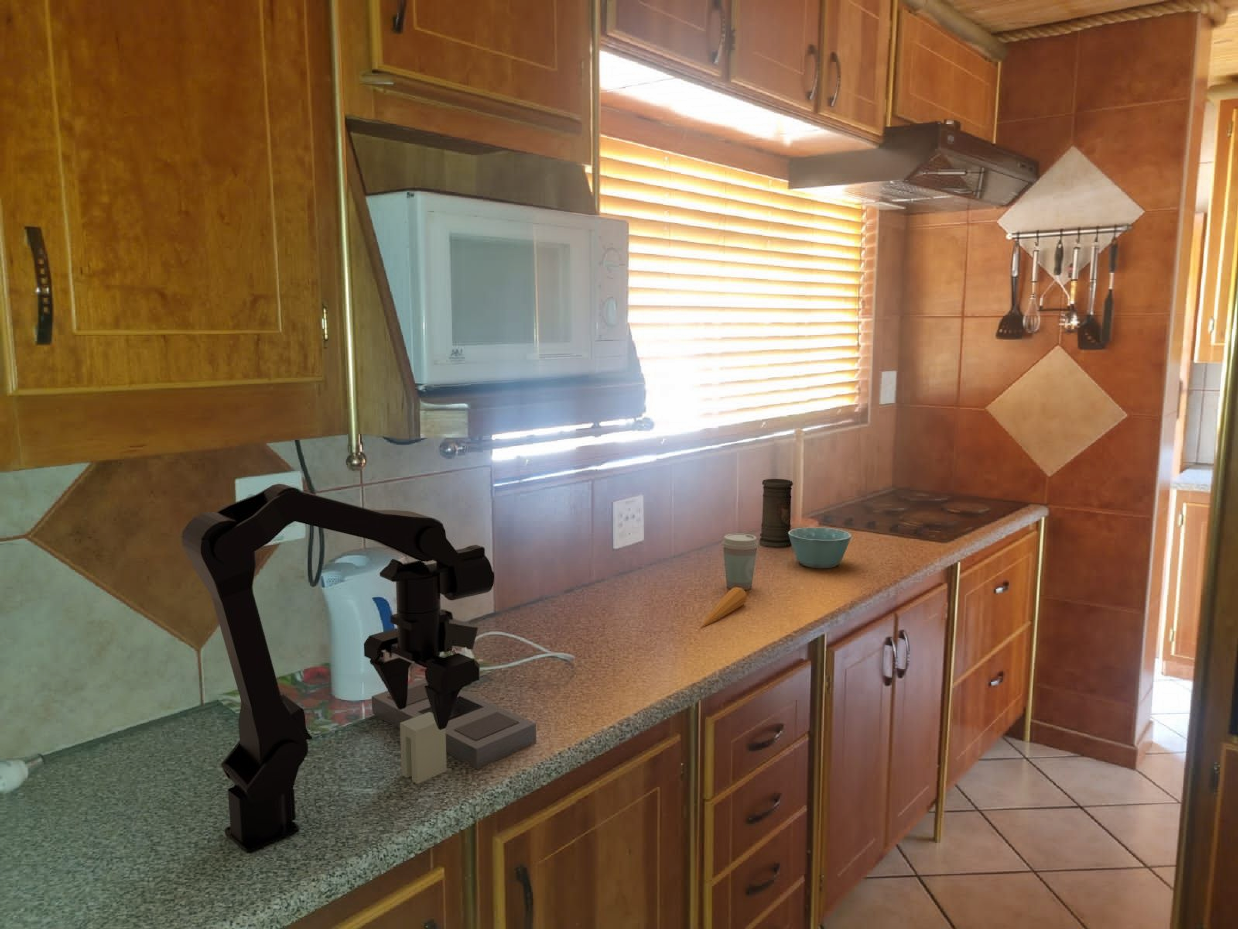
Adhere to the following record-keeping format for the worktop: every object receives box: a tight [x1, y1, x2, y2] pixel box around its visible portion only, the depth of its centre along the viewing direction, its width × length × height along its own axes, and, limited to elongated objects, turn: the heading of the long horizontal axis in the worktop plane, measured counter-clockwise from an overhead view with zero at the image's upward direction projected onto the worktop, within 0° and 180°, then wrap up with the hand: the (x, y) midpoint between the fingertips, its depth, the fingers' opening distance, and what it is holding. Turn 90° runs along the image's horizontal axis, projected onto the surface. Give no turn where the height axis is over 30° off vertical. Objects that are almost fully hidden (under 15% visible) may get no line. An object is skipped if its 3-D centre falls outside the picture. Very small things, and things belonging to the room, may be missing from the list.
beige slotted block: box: [399, 712, 448, 785], centre depth 123 cm, size 5×4×8 cm
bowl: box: [788, 526, 852, 569], centre depth 232 cm, size 16×16×8 cm
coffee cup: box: [721, 533, 759, 591], centre depth 211 cm, size 8×8×12 cm
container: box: [758, 478, 794, 548], centre depth 252 cm, size 9×9×18 cm
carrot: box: [700, 587, 747, 629], centre depth 191 cm, size 20×4×4 cm, turn 149°
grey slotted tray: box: [371, 677, 537, 770], centre depth 137 cm, size 11×26×3 cm, turn 48°
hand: (421, 718), depth 122 cm, fingers open, 9 cm apart
